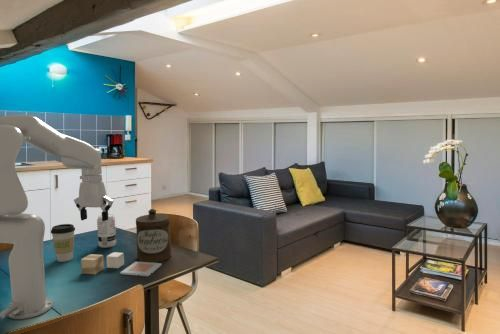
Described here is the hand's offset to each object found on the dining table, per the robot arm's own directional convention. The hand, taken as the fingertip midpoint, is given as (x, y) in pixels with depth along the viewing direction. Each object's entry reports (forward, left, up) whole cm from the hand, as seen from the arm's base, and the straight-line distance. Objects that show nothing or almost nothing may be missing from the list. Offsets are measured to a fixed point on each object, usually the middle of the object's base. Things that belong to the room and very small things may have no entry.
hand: (94, 220), depth 153 cm
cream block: (+4, -6, -21) cm, 22 cm away
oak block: (-3, 0, -21) cm, 21 cm away
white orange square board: (+2, -19, -21) cm, 28 cm away
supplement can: (+28, +13, -21) cm, 37 cm away
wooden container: (+17, -17, -21) cm, 32 cm away
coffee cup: (+7, +21, -21) cm, 30 cm away
